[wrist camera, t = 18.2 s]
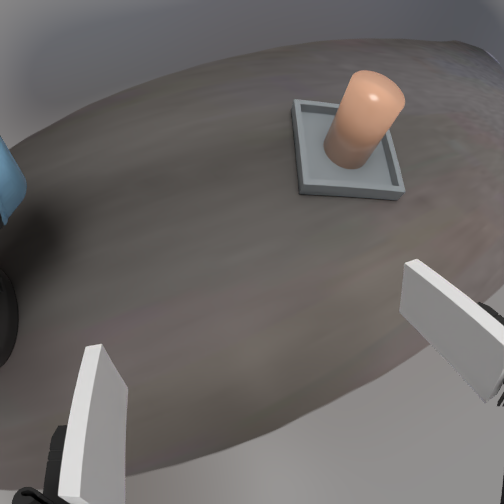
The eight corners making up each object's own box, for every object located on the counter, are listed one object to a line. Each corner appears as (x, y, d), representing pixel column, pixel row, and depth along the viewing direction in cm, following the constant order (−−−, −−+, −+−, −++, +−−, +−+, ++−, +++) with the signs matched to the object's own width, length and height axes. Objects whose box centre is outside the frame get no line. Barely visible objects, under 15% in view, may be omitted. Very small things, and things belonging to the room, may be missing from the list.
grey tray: (299, 194, 38) (303, 184, 36) (291, 110, 42) (294, 99, 40) (396, 200, 39) (405, 192, 37) (377, 121, 43) (383, 111, 41)
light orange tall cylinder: (326, 167, 39) (358, 106, 27) (320, 129, 41) (345, 66, 29) (371, 171, 39) (412, 116, 28) (362, 133, 41) (395, 76, 30)
